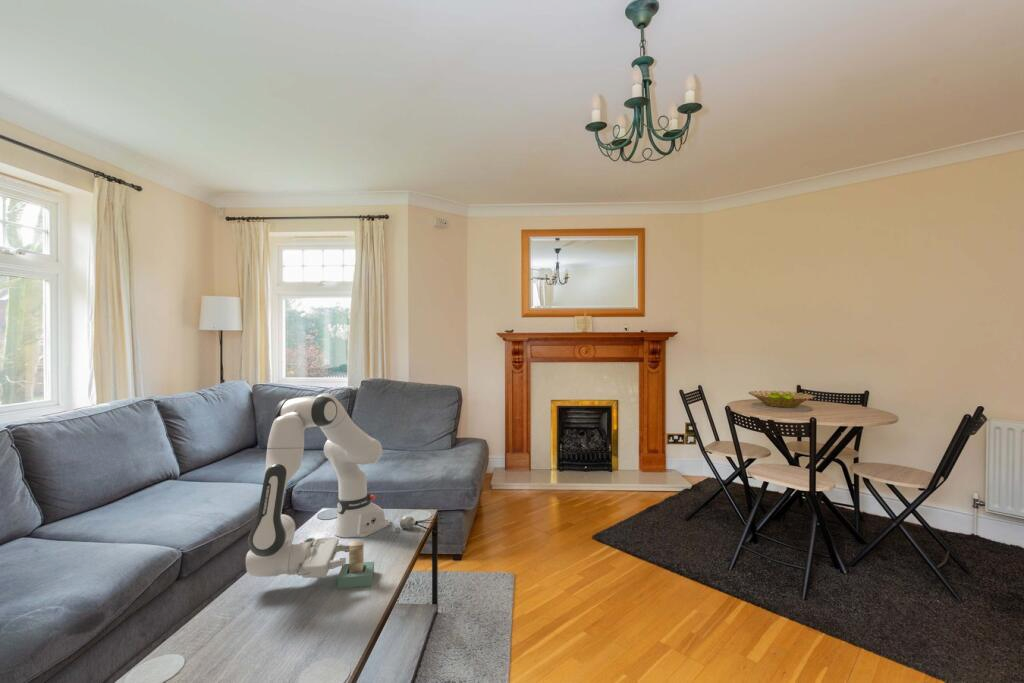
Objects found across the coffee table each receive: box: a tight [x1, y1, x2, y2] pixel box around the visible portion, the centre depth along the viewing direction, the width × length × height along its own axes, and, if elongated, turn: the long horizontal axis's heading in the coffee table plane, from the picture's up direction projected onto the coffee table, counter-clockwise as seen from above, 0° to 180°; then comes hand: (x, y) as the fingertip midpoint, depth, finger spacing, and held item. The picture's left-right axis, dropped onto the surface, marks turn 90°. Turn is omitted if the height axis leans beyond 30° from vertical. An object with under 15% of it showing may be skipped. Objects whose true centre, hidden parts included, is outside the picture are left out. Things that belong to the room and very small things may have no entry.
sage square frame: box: [337, 561, 375, 590], centre depth 145 cm, size 10×9×4 cm
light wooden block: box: [348, 540, 365, 574], centre depth 146 cm, size 4×3×12 cm
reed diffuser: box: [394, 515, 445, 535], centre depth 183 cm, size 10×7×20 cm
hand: (348, 554), depth 145 cm, fingers open, 8 cm apart
